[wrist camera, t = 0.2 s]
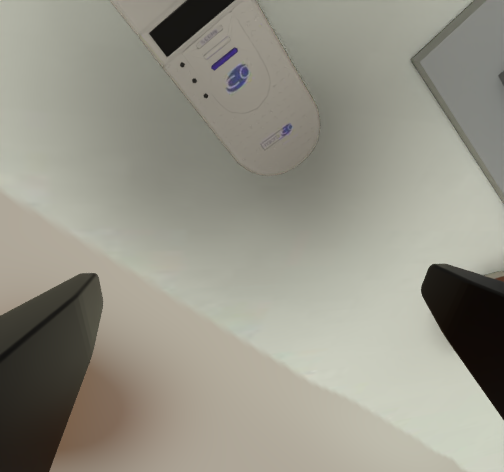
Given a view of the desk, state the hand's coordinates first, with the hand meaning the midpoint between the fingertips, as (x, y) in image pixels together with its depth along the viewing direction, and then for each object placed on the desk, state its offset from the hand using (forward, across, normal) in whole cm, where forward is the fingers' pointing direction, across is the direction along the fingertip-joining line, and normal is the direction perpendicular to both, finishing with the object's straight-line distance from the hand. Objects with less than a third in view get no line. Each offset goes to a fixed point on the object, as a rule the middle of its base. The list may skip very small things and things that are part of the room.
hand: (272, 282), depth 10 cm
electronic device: (+15, -1, +4) cm, 16 cm away
